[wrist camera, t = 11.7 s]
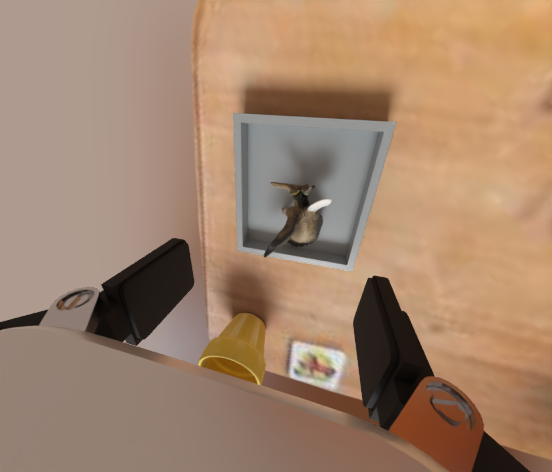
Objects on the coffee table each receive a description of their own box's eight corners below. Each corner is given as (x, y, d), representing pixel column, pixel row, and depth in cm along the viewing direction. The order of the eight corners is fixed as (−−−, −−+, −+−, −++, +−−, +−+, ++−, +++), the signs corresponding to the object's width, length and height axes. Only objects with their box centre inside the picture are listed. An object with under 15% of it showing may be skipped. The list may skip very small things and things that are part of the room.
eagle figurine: (259, 179, 24) (254, 249, 27) (281, 183, 18) (272, 274, 20) (313, 184, 27) (304, 247, 29) (350, 189, 20) (334, 268, 23)
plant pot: (256, 349, 42) (238, 403, 34) (216, 321, 41) (187, 370, 33) (286, 328, 37) (273, 385, 29) (241, 296, 36) (215, 345, 28)
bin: (387, 124, 20) (396, 122, 18) (349, 259, 28) (352, 271, 25) (243, 115, 23) (233, 113, 20) (245, 241, 31) (237, 250, 28)
